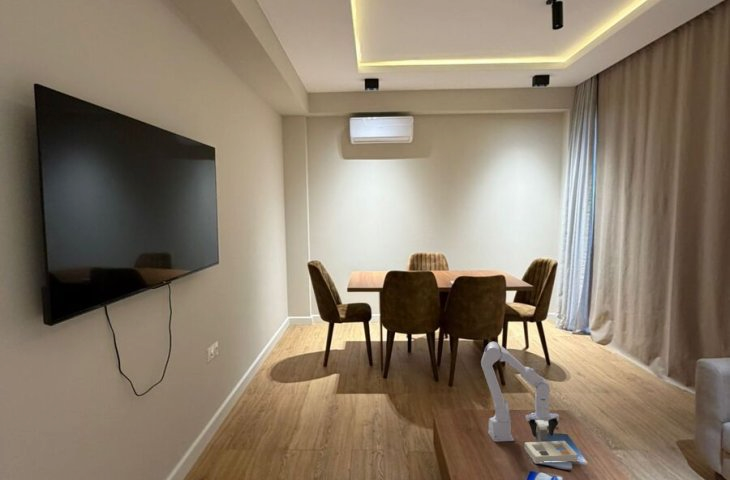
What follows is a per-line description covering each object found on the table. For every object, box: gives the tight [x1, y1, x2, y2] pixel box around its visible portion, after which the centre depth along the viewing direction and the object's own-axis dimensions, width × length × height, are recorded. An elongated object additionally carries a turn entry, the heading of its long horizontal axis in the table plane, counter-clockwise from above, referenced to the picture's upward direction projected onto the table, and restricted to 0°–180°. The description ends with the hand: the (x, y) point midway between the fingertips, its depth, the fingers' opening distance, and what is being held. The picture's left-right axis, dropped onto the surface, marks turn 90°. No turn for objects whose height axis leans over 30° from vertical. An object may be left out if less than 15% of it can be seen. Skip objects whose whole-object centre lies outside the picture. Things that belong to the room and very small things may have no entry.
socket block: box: [524, 440, 579, 464], centre depth 162 cm, size 18×10×3 cm, turn 92°
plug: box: [536, 423, 548, 442], centre depth 171 cm, size 3×3×8 cm
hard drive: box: [530, 412, 559, 429], centre depth 189 cm, size 2×8×12 cm
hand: (542, 435), depth 171 cm, fingers open, 7 cm apart
